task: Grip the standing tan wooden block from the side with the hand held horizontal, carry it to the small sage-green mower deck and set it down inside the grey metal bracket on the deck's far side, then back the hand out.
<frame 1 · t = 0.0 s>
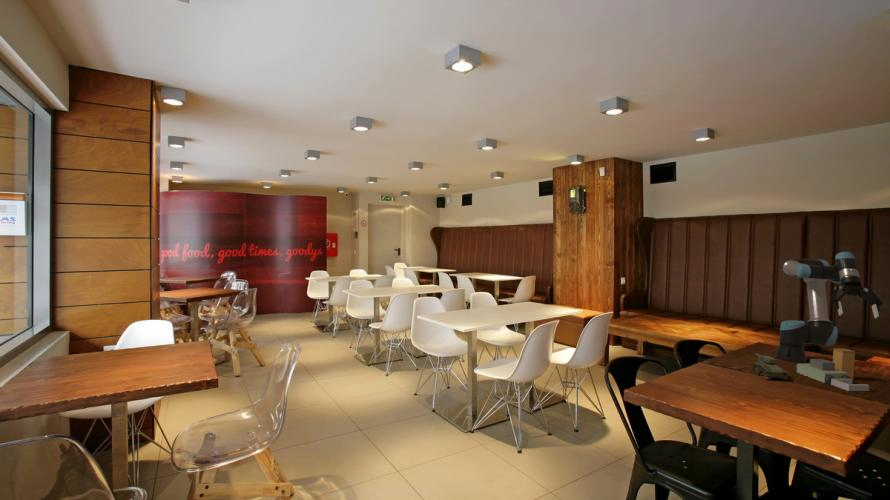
hand: (858, 315, 214), 36 cm above the table, tool tilted 35°, fingers open, 13 cm apart
toy: (765, 375, 232), on the table
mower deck: (821, 377, 230), on the table
tan wooden block: (842, 377, 231), on the table
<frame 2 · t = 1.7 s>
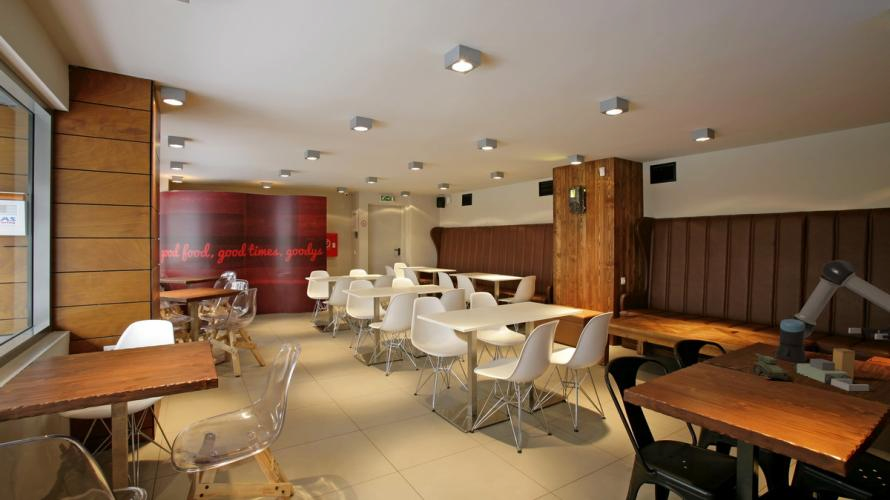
hand: (862, 333, 230), 24 cm above the table, tool horizontal, fingers open, 13 cm apart
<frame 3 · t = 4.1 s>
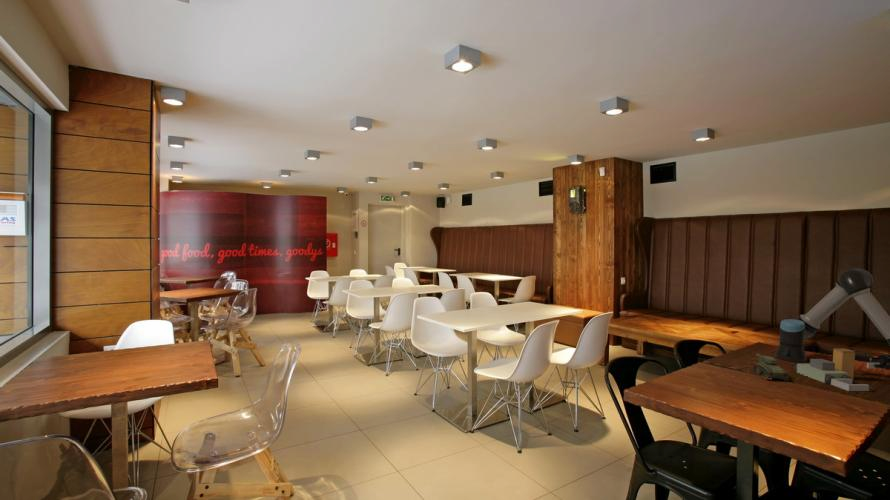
hand: (854, 361, 230), 9 cm above the table, tool horizontal, fingers open, 13 cm apart
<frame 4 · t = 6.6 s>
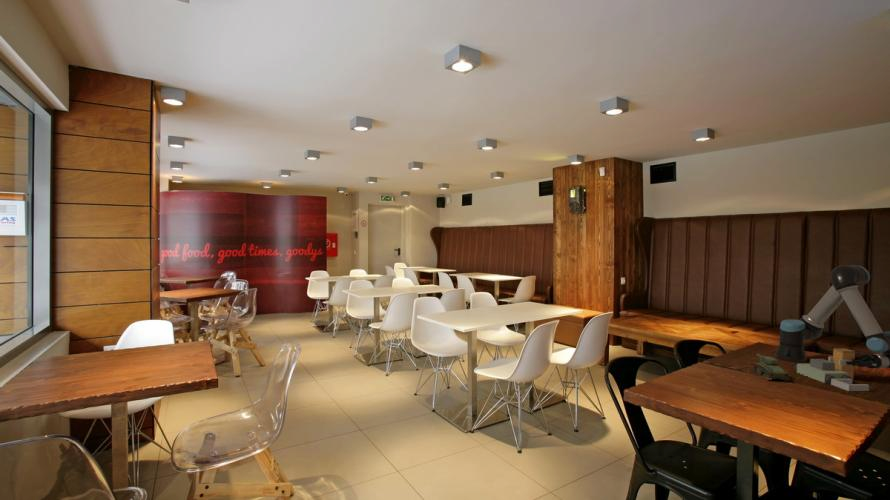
hand: (834, 360, 230), 9 cm above the table, tool horizontal, fingers closed on tan wooden block, 5 cm apart
tan wooden block: (842, 377, 231), on the table, touching gripper
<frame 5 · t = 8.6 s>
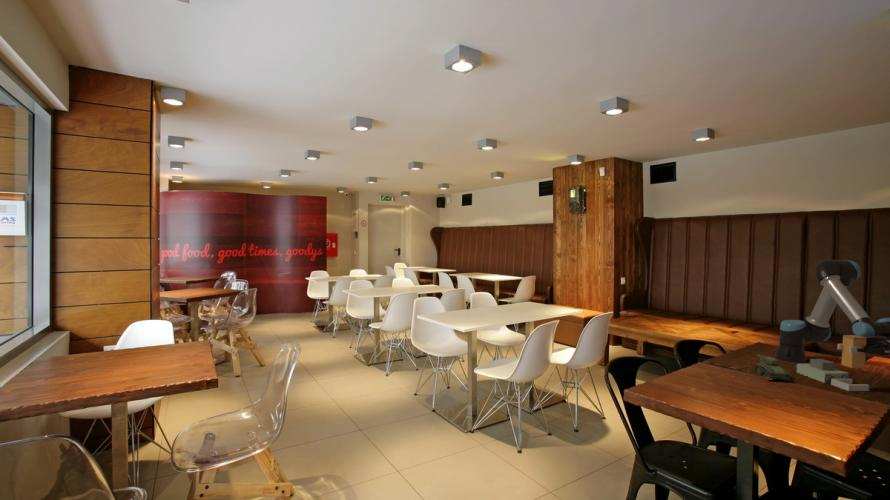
hand: (844, 348, 214), 20 cm above the table, tool horizontal, fingers closed on tan wooden block, 5 cm apart
tan wooden block: (852, 366, 215), point 11 cm above the table, touching gripper
when the fingers open (11 cm above the table, at t = 10.8 s): tan wooden block drops 1 cm, resting in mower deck.
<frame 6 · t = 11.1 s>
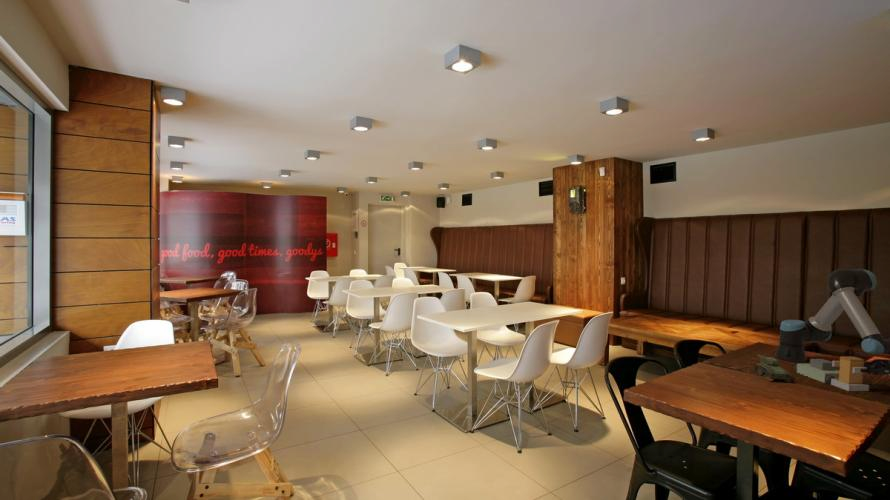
hand: (843, 366, 214), 11 cm above the table, tool horizontal, fingers open, 9 cm apart
tan wooden block: (849, 387, 215), resting in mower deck
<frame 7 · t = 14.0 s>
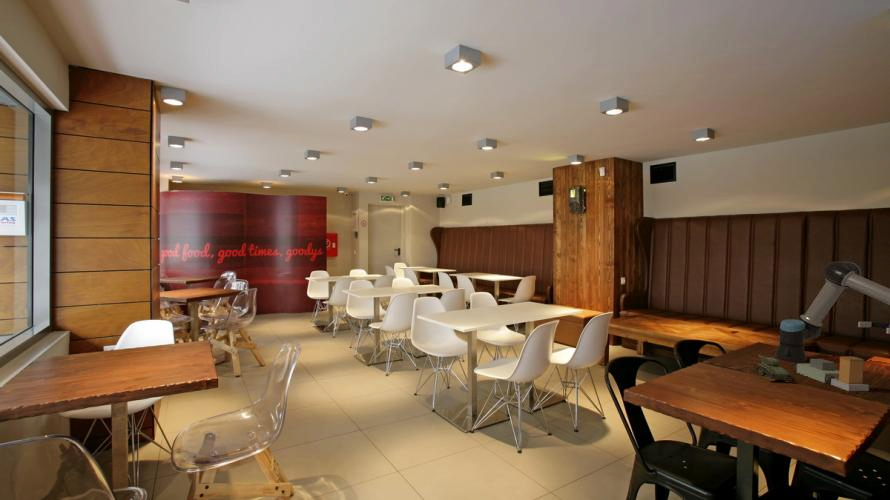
hand: (872, 327, 219), 29 cm above the table, tool horizontal, fingers open, 13 cm apart
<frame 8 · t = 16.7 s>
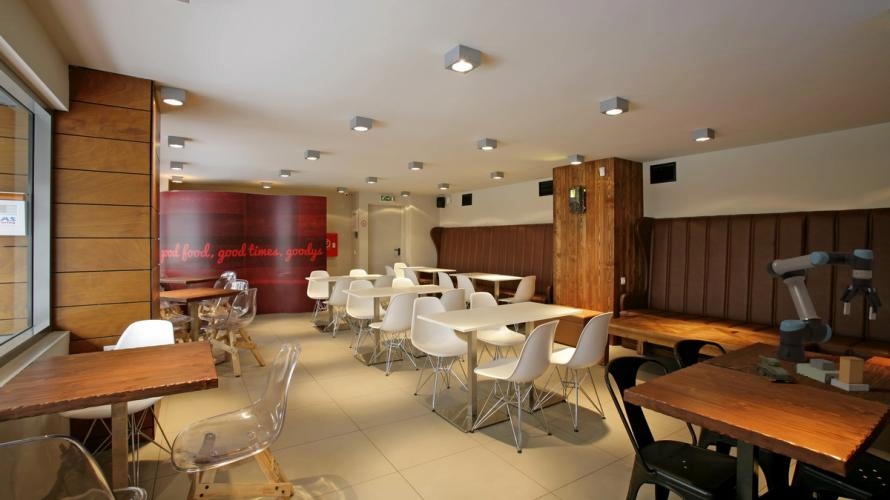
hand: (859, 316, 236), 32 cm above the table, tool pointing down, fingers open, 13 cm apart
at the end: tan wooden block 0.0 cm from the target spot, resting in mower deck; tan wooden block tilted 0°; the gripper is holding nothing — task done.
